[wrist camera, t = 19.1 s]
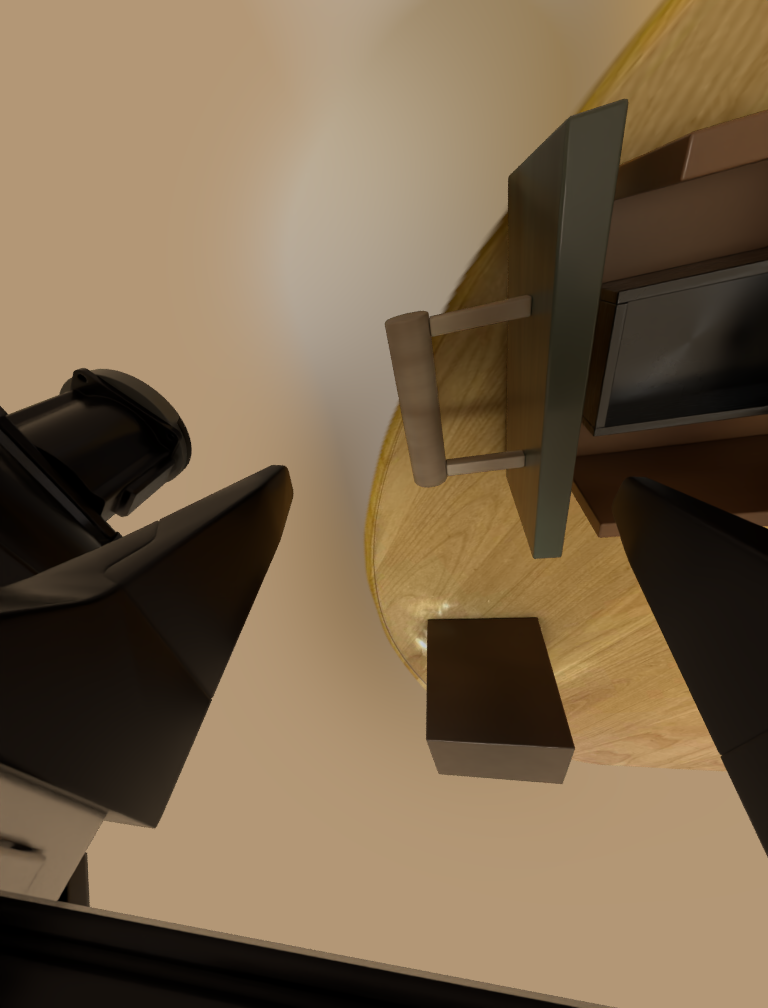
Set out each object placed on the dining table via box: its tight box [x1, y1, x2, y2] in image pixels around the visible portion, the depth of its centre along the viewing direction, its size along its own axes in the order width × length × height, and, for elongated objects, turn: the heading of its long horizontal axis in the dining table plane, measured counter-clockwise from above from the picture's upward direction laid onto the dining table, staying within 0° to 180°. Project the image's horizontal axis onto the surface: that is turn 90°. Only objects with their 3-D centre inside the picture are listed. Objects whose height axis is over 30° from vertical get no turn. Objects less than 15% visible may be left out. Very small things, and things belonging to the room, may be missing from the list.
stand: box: [426, 618, 575, 784], centre depth 29 cm, size 10×8×10 cm
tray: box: [581, 246, 768, 437], centre depth 13 cm, size 8×6×2 cm
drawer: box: [385, 99, 768, 559], centre depth 12 cm, size 21×14×7 cm, turn 102°
